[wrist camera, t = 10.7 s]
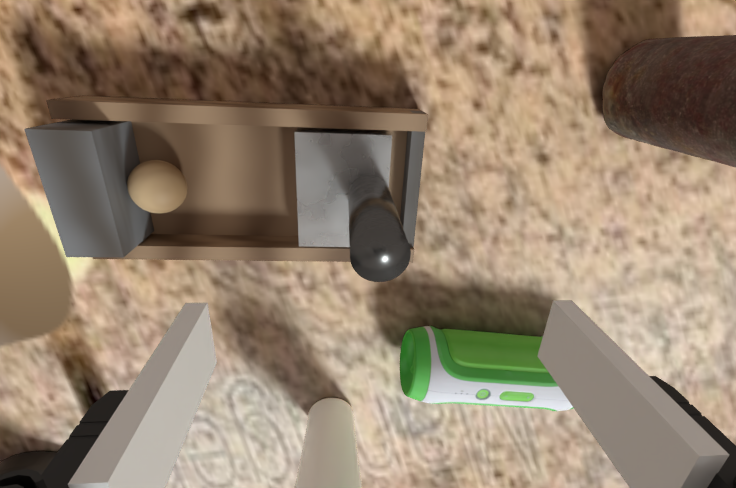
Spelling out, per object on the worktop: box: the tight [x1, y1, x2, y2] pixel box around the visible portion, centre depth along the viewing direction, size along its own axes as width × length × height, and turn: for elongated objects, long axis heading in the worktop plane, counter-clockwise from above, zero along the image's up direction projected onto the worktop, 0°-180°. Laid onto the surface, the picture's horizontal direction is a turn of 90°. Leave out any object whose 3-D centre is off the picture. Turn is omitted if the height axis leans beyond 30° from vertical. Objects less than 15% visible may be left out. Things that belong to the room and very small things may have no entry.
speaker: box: [400, 326, 573, 411], centre depth 39 cm, size 18×7×8 cm, turn 82°
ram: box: [294, 127, 411, 282], centre depth 26 cm, size 7×9×13 cm
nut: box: [127, 160, 187, 213], centre depth 29 cm, size 4×4×4 cm
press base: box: [25, 96, 428, 262], centre depth 30 cm, size 26×12×6 cm, turn 88°
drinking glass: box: [295, 398, 362, 488], centre depth 38 cm, size 7×7×15 cm
